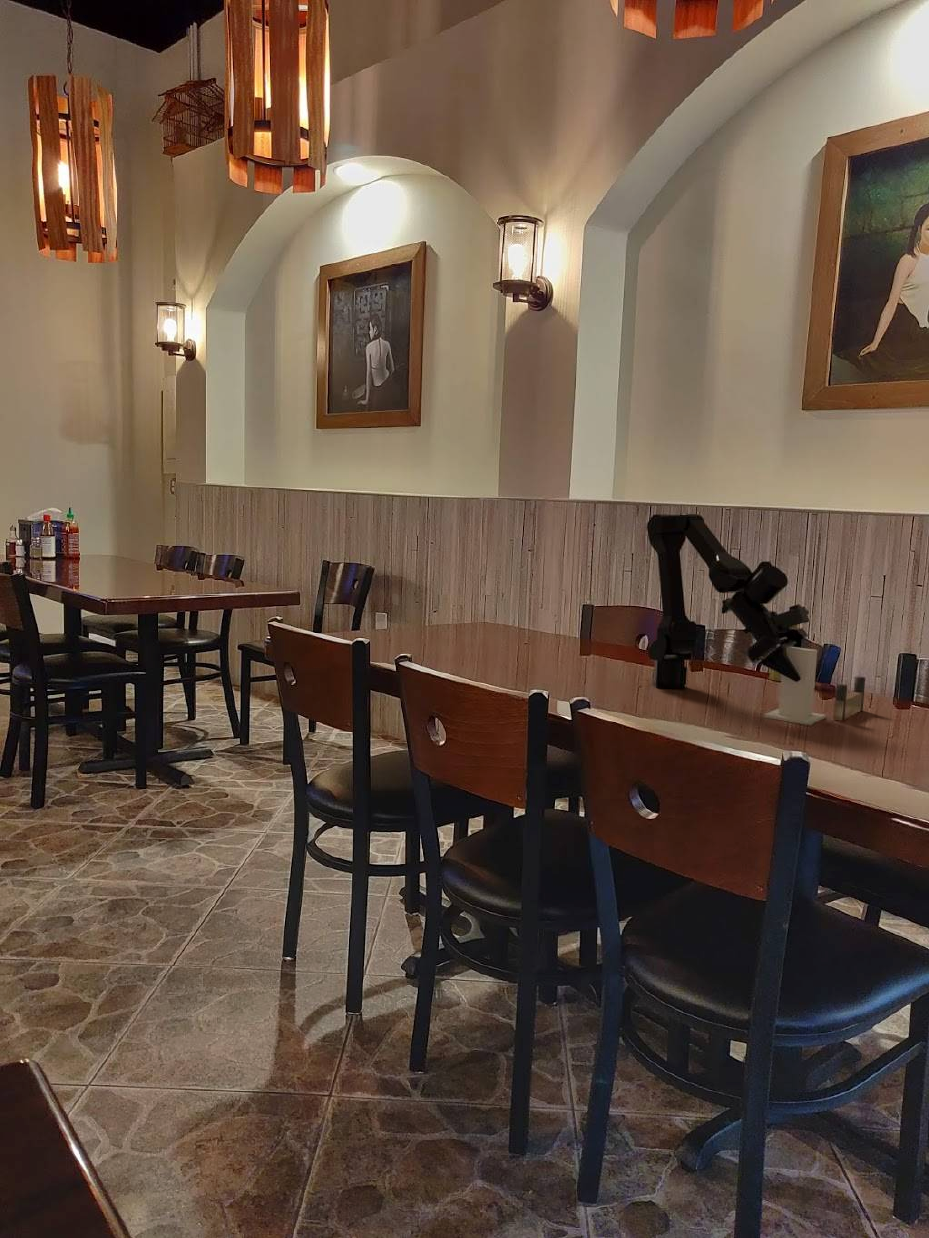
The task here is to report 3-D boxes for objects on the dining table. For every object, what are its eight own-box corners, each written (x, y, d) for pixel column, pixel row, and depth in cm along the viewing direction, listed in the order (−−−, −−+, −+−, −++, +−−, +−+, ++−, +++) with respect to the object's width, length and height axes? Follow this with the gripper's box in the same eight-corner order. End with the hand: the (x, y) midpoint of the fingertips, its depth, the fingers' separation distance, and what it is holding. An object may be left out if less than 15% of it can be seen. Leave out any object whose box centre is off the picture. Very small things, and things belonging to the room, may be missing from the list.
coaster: (764, 717, 185) (764, 714, 184) (781, 710, 192) (781, 707, 191) (810, 725, 179) (810, 722, 179) (825, 717, 186) (825, 714, 186)
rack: (832, 719, 184) (835, 684, 183) (853, 709, 195) (856, 676, 194) (842, 721, 183) (845, 686, 182) (863, 710, 194) (866, 677, 193)
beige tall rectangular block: (778, 714, 185) (782, 649, 183) (787, 710, 189) (792, 646, 187) (803, 718, 182) (808, 652, 180) (812, 714, 186) (817, 649, 184)
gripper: (767, 593, 177) (821, 658, 172) (801, 588, 192) (852, 648, 186) (724, 630, 183) (776, 694, 178) (761, 622, 198) (809, 681, 192)
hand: (805, 678), depth 183 cm, fingers open, 7 cm apart
